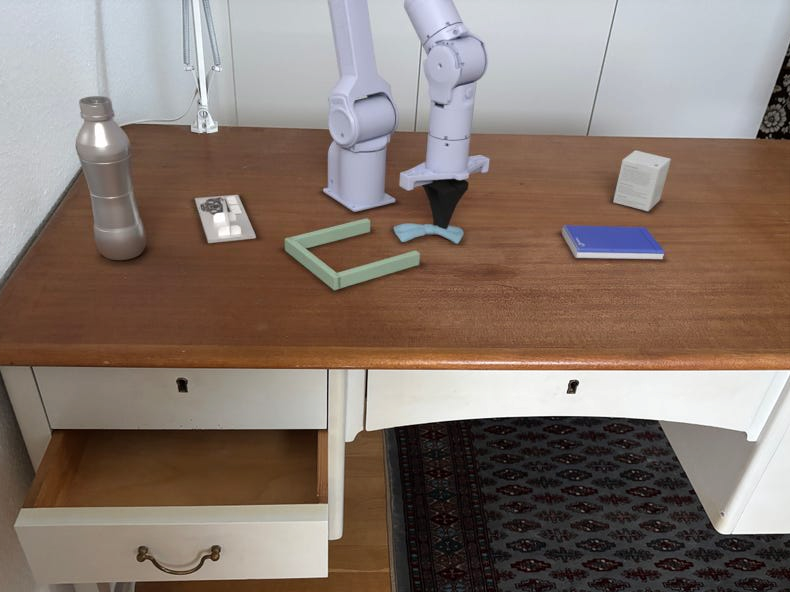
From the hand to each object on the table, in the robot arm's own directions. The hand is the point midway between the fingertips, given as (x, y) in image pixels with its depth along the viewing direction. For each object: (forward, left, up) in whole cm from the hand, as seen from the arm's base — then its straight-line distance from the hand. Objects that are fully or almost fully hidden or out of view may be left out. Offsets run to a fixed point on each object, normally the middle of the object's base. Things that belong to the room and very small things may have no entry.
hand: (440, 226), depth 104 cm
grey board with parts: (-20, -25, -1) cm, 32 cm away
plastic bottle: (-16, -41, -1) cm, 44 cm away
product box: (+7, +36, -1) cm, 37 cm away
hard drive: (+16, +19, -1) cm, 25 cm away
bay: (0, -15, -1) cm, 15 cm away
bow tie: (0, -2, -1) cm, 2 cm away
